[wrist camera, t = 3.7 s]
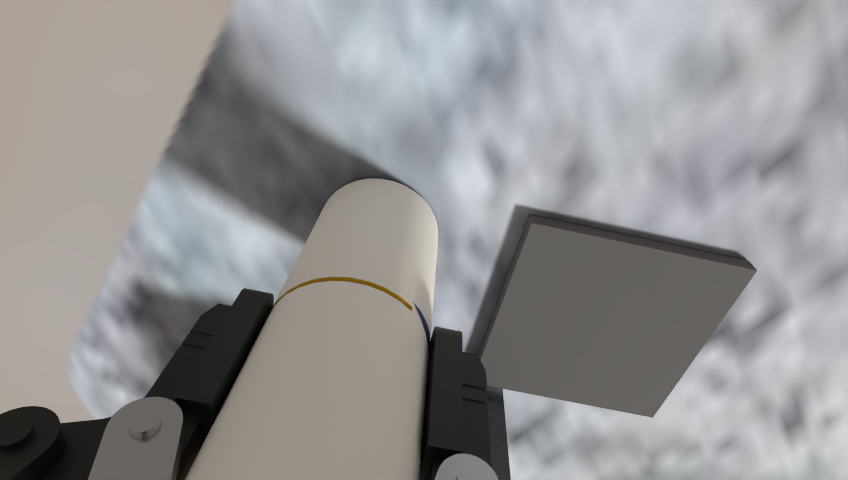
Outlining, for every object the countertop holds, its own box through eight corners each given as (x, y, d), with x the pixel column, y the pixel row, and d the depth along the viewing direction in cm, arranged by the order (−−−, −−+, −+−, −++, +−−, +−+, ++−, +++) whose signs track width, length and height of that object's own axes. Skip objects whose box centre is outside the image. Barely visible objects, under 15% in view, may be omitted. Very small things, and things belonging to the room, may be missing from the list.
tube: (295, 223, 17) (-143, 981, 5) (382, 154, 16) (61, 1032, 3) (376, 297, 19) (206, 1015, 6) (462, 241, 17) (464, 1058, 5)
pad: (529, 214, 17) (531, 222, 16) (748, 260, 17) (757, 270, 17) (471, 371, 21) (472, 382, 20) (648, 406, 21) (652, 417, 21)
